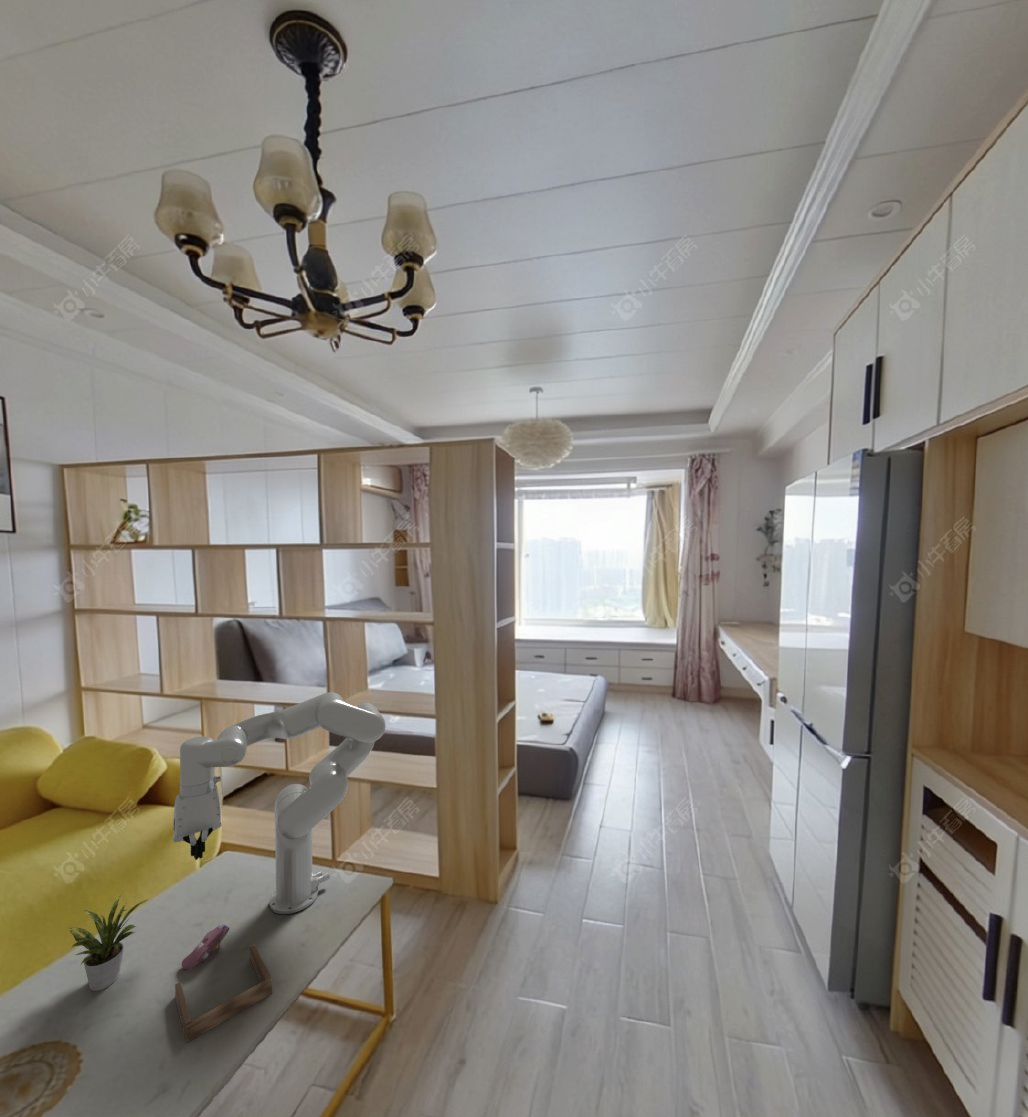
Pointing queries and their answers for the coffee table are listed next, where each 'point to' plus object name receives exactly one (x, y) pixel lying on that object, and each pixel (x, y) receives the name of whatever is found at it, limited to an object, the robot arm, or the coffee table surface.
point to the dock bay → (227, 1008)
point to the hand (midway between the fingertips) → (197, 856)
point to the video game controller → (205, 946)
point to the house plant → (103, 947)
